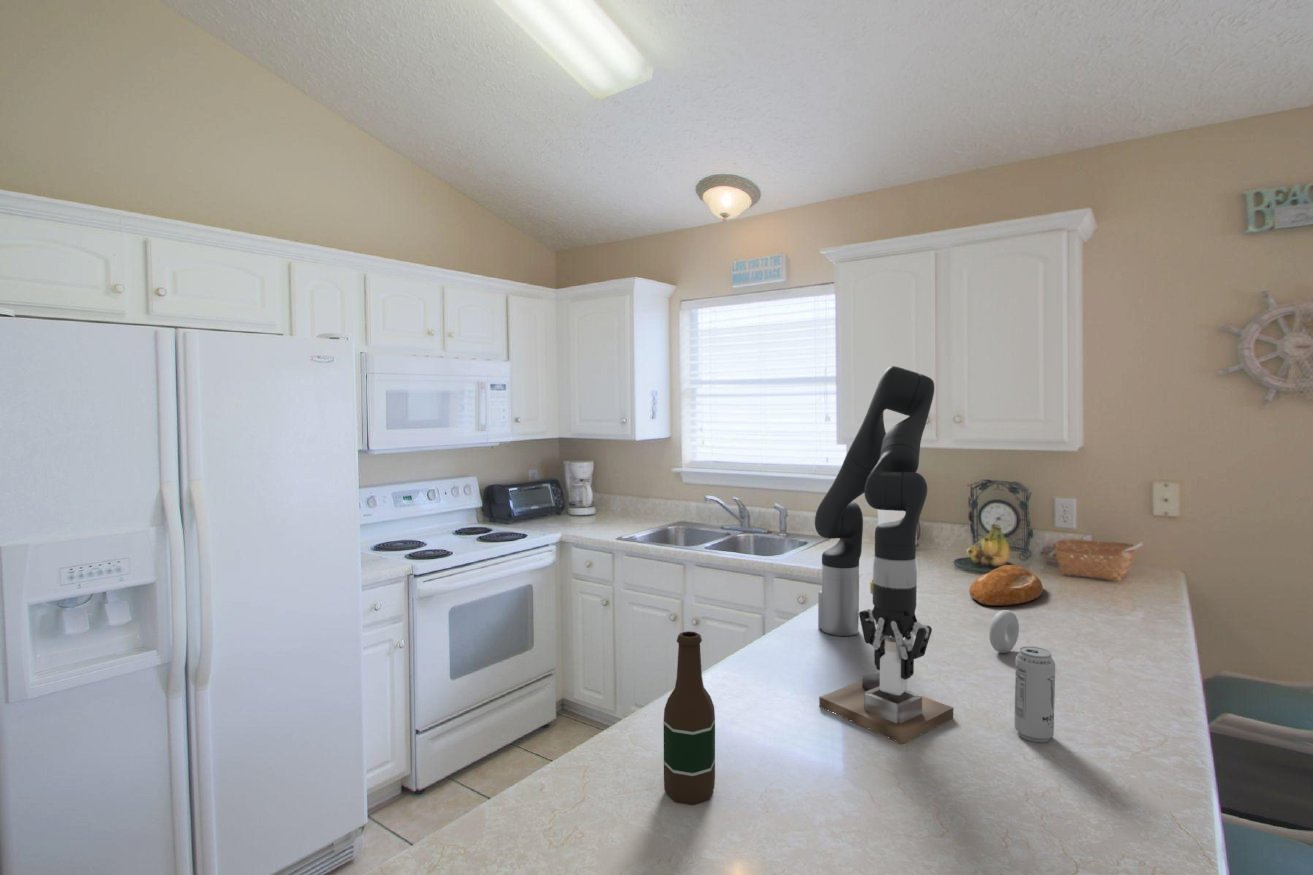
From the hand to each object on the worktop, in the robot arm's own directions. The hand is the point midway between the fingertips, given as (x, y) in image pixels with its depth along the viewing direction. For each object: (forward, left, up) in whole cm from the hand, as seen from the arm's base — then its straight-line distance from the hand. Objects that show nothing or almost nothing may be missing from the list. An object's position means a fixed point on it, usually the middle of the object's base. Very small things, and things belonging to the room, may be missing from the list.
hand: (893, 672), depth 124 cm
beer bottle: (-5, -44, -9) cm, 45 cm away
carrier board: (-3, +2, -9) cm, 10 cm away
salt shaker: (0, 0, -4) cm, 4 cm away
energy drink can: (+18, +15, -9) cm, 25 cm away
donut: (-5, +51, -9) cm, 52 cm away
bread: (-28, +100, -10) cm, 104 cm away
